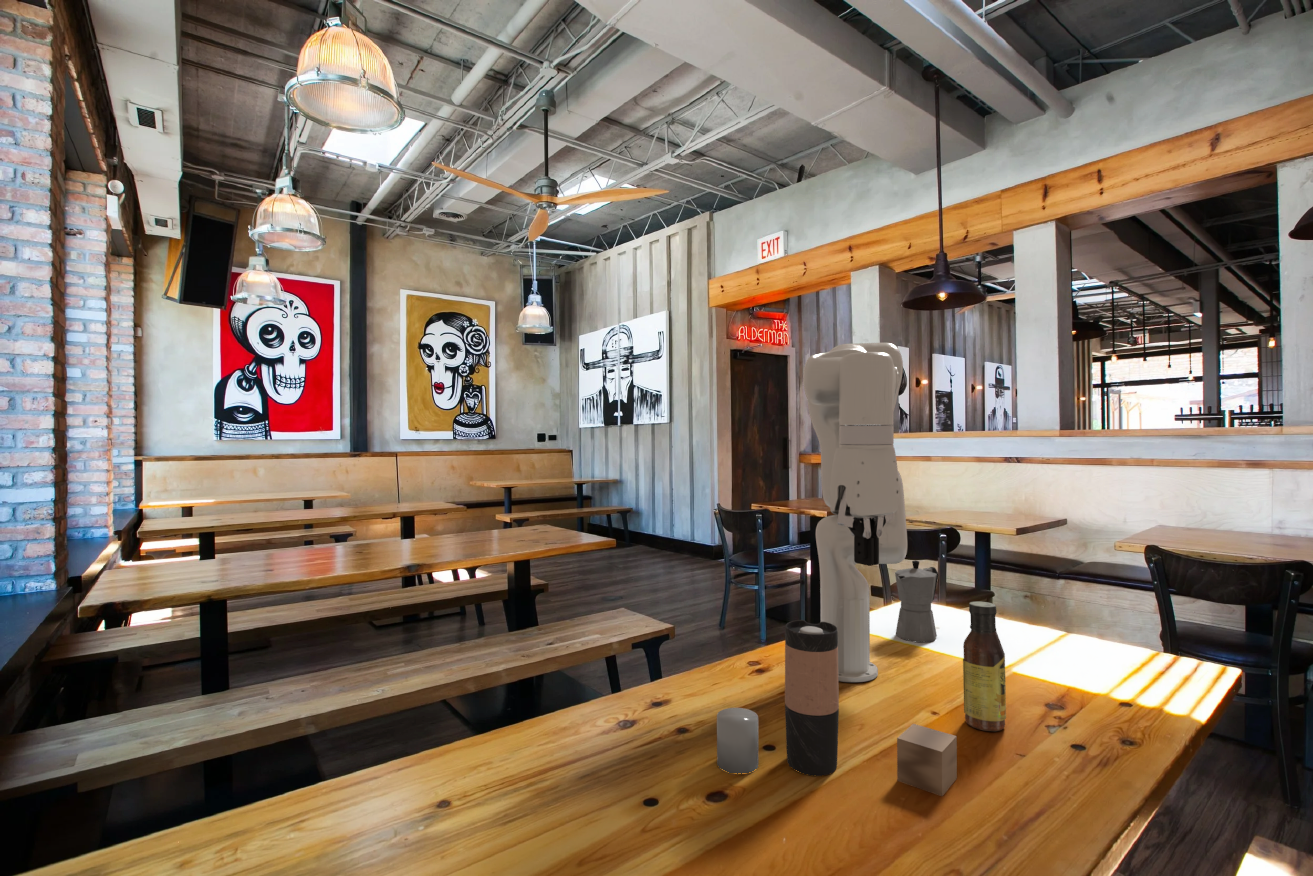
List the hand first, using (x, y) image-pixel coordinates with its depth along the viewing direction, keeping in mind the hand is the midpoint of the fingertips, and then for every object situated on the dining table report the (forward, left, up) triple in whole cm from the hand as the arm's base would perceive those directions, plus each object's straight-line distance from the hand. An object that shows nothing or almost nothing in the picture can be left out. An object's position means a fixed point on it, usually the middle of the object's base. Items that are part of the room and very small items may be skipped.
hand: (866, 563), depth 95 cm
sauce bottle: (+3, +26, -29) cm, 39 cm away
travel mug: (-4, -7, -29) cm, 30 cm away
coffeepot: (-32, +59, -29) cm, 74 cm away
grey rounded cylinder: (-10, -16, -29) cm, 35 cm away
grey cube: (+8, +3, -29) cm, 30 cm away
